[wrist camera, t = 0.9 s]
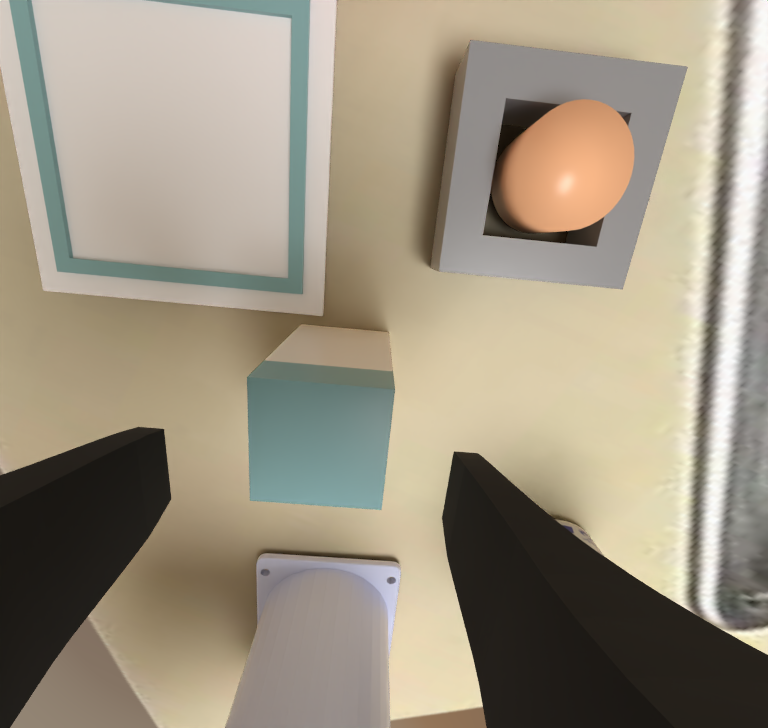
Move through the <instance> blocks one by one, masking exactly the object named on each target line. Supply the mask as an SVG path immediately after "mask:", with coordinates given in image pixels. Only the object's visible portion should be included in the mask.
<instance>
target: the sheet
mask: <svg viewBox="0 0 768 728" xmlns="http://www.w3.org/2000/svg"><path fill="white" fill-rule="evenodd" d="M336 16H337V0H0V68H1V73H2V78H3V83H4V89H5V94H6V99H7V104H8V109H9V115H10V120H11V125H12V130H13V135H14V141H15V146H16V151H17V156H18V161H19V167H20V172H21V177H22V182H23V188H24V193H25V198H26V203H27V208H28V214H29V219H30V224H31V229H32V234H33V240H34V245H35V250H36V255H37V260H38V266H39V271H40V276H41V281H42V287H43V291H52V292H63V293H74V294H85V295H96V296H106V297H117V298H128V299H139V300H150V301H161V302H172V303H183V304H194V305H205V306H216V307H227V308H238V309H249V310H260V311H271V312H282V313H293V314H304V315H315V316H323V315H324V292H325V269H326V246H327V223H328V200H329V177H330V154H331V131H332V108H333V85H334V62H335V39H336Z"/></svg>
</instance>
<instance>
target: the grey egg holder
mask: <svg viewBox="0 0 768 728" xmlns="http://www.w3.org/2000/svg"><path fill="white" fill-rule="evenodd" d="M687 68H688V67H686V66H678V65H670V64H661V63H653V62H645V61H637V60H629V59H621V58H613V57H605V56H597V55H588V54H580V53H572V52H564V51H556V50H548V49H540V48H532V47H524V46H516V45H507V44H499V43H491V42H483V41H475V40H470V42H469V45H468V47H467V49H466V52H465V54H464V56H463V58H462V61H461V63H460V65H459V67H458V70H457V72H456V74H455V81H454V88H453V96H452V104H451V111H450V119H449V127H448V135H447V142H446V150H445V158H444V165H443V173H442V181H441V189H440V196H439V204H438V212H437V219H436V227H435V235H434V243H433V250H432V258H431V266H430V268H432V269H434V270H437V271H440V272H450V273H460V274H471V275H481V276H491V277H501V278H512V279H522V280H532V281H542V282H553V283H563V284H573V285H583V286H594V287H604V288H614V289H623V286H624V283H625V279H626V276H627V272H628V269H629V266H630V262H631V259H632V255H633V252H634V249H635V245H636V242H637V238H638V235H639V231H640V228H641V225H642V221H643V218H644V214H645V211H646V208H647V204H648V201H649V197H650V194H651V190H652V187H653V184H654V180H655V177H656V173H657V170H658V167H659V163H660V160H661V156H662V153H663V150H664V146H665V143H666V139H667V136H668V132H669V129H670V126H671V122H672V119H673V115H674V112H675V109H676V105H677V102H678V98H679V95H680V91H681V88H682V85H683V81H684V78H685V74H686V71H687ZM581 99H587V100H595V101H599V102H602V103H604V104H607V105H608V106H610V107H612V108H613V109H614V110H615V111H617V112H618V113H619V114H620V115H621V117H622V118H623V119H624V121H625V122H626V124H627V125H628V128H629V130H630V132H631V135H632V139H633V144H634V166H633V171H632V175H631V178H630V181H629V184H628V186H627V188H626V190H625V192H624V194H623V196H622V197H621V199H620V200H619V202H618V203H617V204H616V205H615V207H614V208H613V209H612V210H611V211H610V212H609V213H608V214H606V215H605V216H604V217H603V218H601V219H600V220H599V221H597V222H595V223H593V224H591V225H590V226H587V227H584V228H581V229H577V230H570V231H568V234H567V239H566V243H555V242H545V241H535V240H525V239H516V238H506V237H496V236H486V235H483V232H484V226H485V220H486V214H487V208H488V202H489V196H490V190H491V184H492V178H493V172H494V166H495V160H496V154H497V149H498V143H499V137H500V131H501V125H502V124H504V125H513V126H522V127H530V126H531V125H533V124H534V123H535V122H536V121H538V120H539V119H540V118H541V117H543V116H544V115H545V114H547V113H548V112H549V111H550V110H552V109H554V108H556V107H557V106H559V105H561V104H564V103H566V102H570V101H574V100H581Z"/></svg>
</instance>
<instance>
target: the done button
mask: <svg viewBox="0 0 768 728" xmlns="http://www.w3.org/2000/svg"><path fill="white" fill-rule="evenodd" d="M633 166H634V144H633V139H632V135H631V132H630V130H629V128H628V125H627V124H626V122H625V121H624V119H623V118H622V117H621V115H620V114H619V113H618V112H617V111H615V110H614V109H613V108H612V107H610V106H608V105H607V104H604V103H602V102H599V101H595V100H587V99H581V100H574V101H570V102H566V103H564V104H561V105H559V106H557V107H556V108H554V109H552V110H550V111H549V112H548V113H547V114H545V115H544V116H543V117H541V118H540V119H539V120H538V121H536V122H535V123H534V124H533V125H531V126H530V127H529V128H528V129H526V130H525V131H524V132H523V133H521V134H520V135H519V136H518V137H516V138H515V139H514V140H513V141H512V142H511V143H510V144H509V145H508V146H507V147H506V148H505V149H504V151H503V152H502V154H501V155H500V157H499V159H498V161H497V163H496V165H495V168H494V172H493V178H492V184H491V192H492V199H493V203H494V206H495V208H496V210H497V212H498V214H499V216H500V217H501V218H502V219H503V221H504V222H505V223H506V224H508V225H509V226H510V227H512V228H514V229H515V230H517V231H520V232H524V233H532V234H536V233H548V232H559V231H570V230H577V229H581V228H584V227H587V226H590V225H591V224H593V223H595V222H597V221H599V220H600V219H601V218H603V217H604V216H605V215H606V214H608V213H609V212H610V211H611V210H612V209H613V208H614V207H615V205H616V204H617V203H618V202H619V200H620V199H621V197H622V196H623V194H624V192H625V190H626V188H627V186H628V184H629V181H630V178H631V175H632V171H633Z"/></svg>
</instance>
